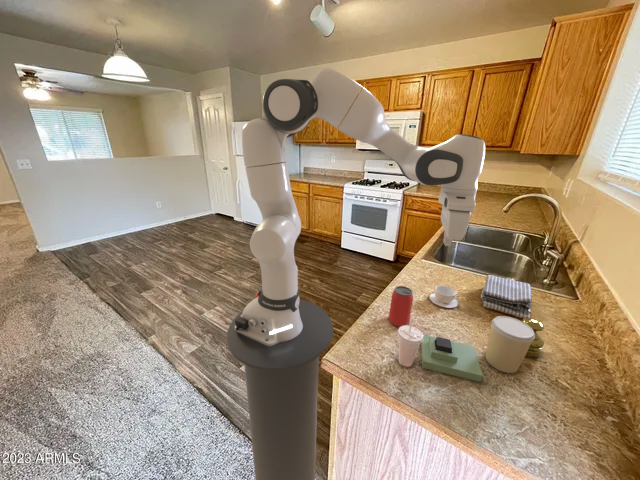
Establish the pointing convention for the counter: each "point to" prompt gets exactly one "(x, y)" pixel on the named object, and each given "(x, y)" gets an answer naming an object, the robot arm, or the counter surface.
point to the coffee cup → (508, 343)
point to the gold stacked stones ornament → (538, 341)
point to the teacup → (444, 297)
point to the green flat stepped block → (451, 359)
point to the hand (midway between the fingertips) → (446, 244)
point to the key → (443, 344)
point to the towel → (507, 296)
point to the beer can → (401, 306)
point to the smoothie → (408, 343)
